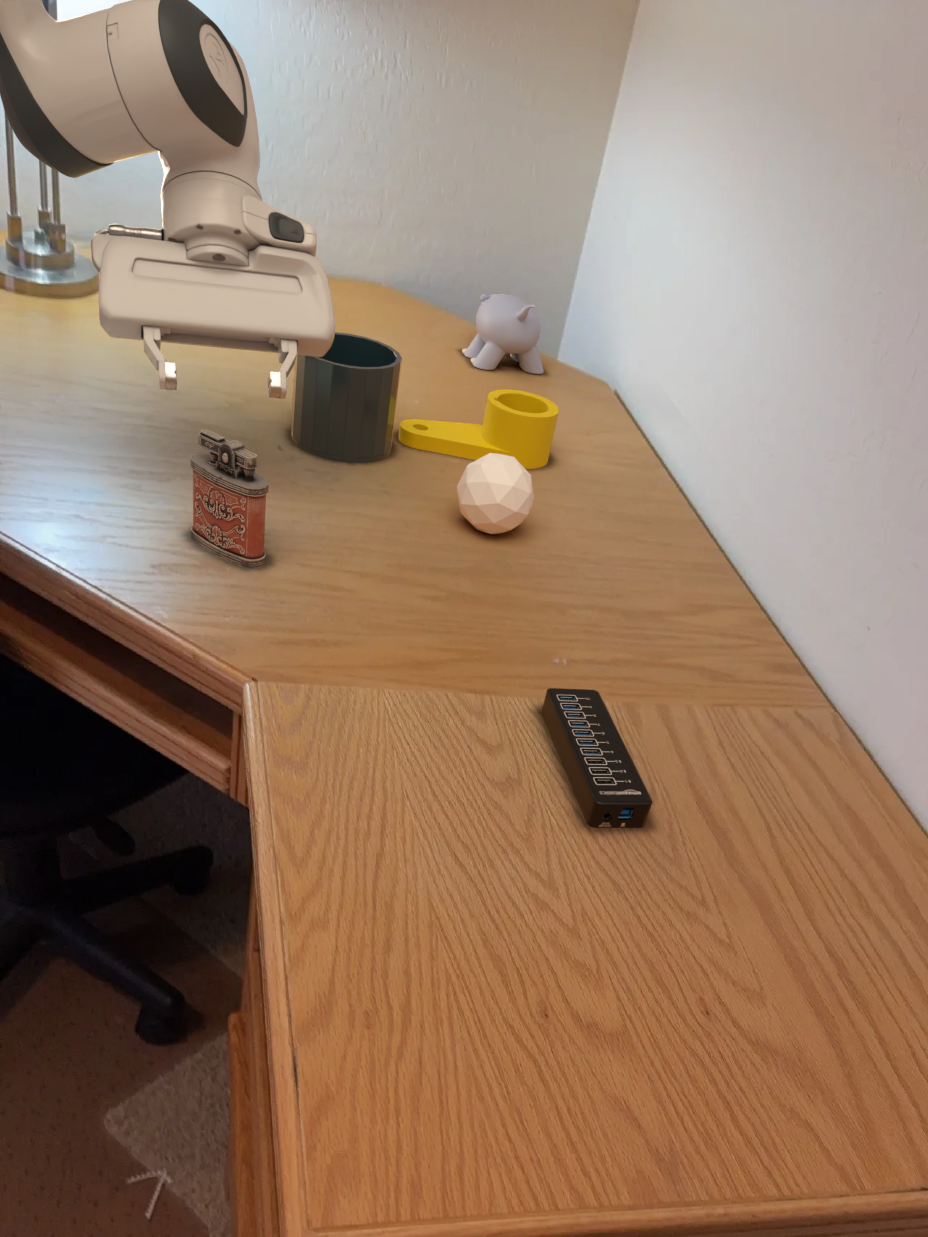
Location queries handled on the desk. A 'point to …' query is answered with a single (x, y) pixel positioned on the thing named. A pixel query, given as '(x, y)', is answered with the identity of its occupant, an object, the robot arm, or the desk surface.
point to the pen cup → (346, 400)
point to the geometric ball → (495, 493)
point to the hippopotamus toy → (505, 333)
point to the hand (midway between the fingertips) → (223, 391)
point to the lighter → (228, 501)
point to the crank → (492, 430)
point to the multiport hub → (595, 759)
